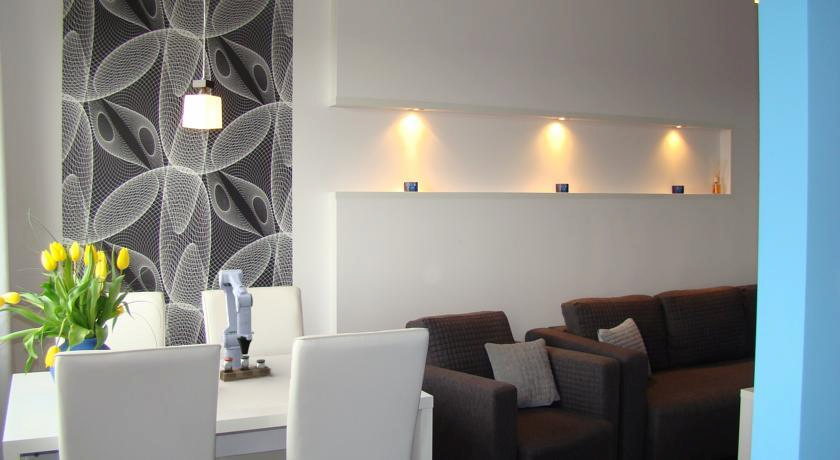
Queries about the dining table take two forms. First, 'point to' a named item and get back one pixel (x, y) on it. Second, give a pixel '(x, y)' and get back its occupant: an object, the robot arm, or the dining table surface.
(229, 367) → the plunger red
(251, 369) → the jig
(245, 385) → the dining table surface
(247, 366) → the plunger
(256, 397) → the dining table surface
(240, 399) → the dining table surface
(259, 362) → the plunger
